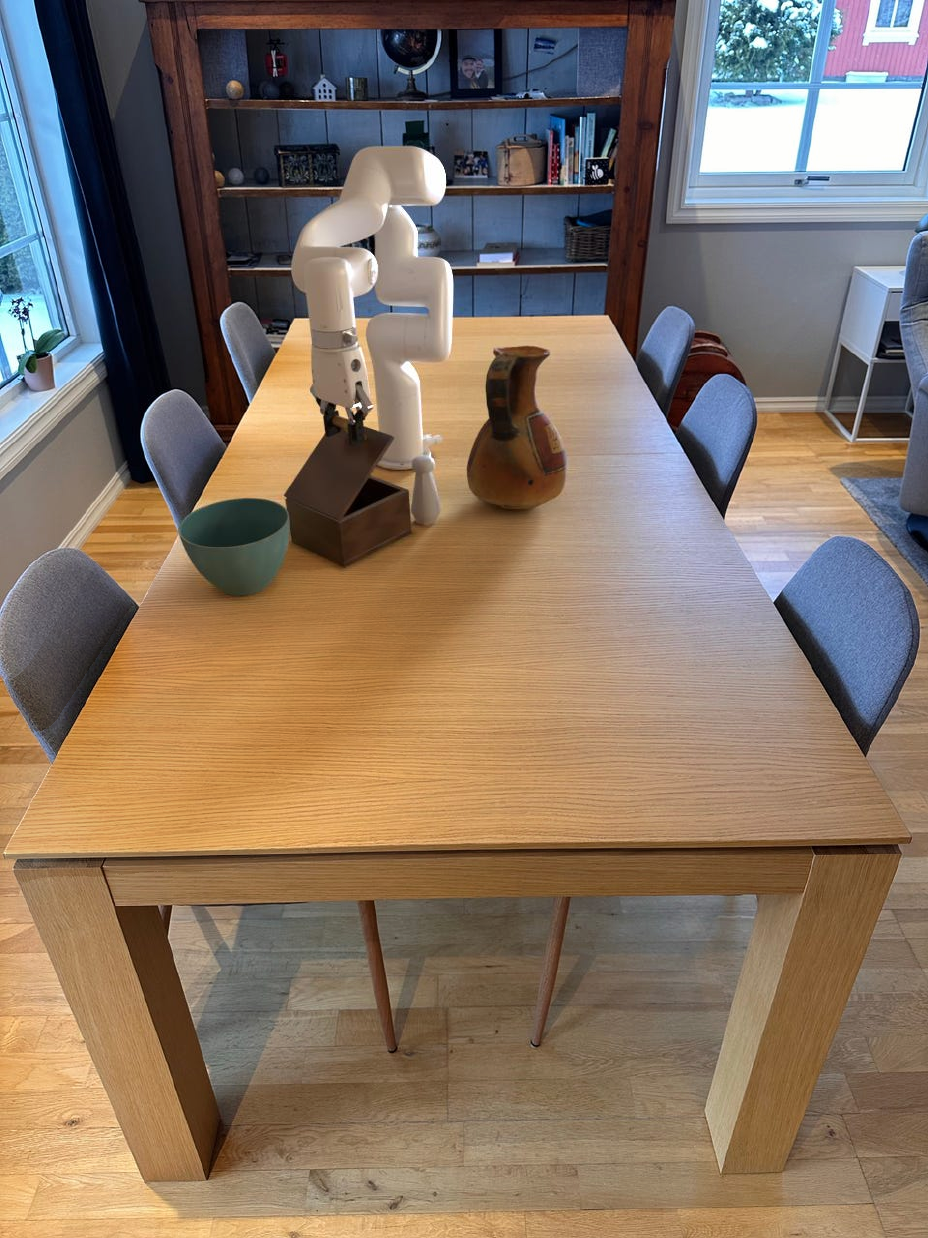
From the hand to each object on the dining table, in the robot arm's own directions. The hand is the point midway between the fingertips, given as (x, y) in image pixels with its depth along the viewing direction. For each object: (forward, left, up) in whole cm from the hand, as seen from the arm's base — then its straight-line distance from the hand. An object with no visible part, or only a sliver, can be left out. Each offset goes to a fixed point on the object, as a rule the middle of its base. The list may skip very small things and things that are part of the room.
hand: (345, 437), depth 164 cm
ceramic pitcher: (-34, +5, -20) cm, 40 cm away
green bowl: (+24, +5, -20) cm, 31 cm away
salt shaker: (-14, +2, -20) cm, 25 cm away
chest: (+1, 0, -20) cm, 20 cm away
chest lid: (+2, +1, -5) cm, 6 cm away
